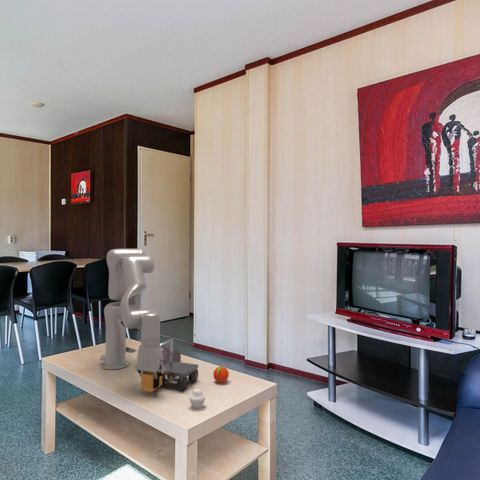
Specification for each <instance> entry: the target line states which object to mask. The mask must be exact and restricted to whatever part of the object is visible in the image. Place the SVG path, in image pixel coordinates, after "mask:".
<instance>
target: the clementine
mask: <svg viewBox="0 0 480 480" xmlns="http://www.w3.org/2000/svg"><path fill="white" fill-rule="evenodd" d="M229 375H230V372H229V370H228V369H227V367H225V366H217V367H216V368H214V370H213V379H214V380H215V381H216V382H217V383H225V382H227V380H228V378H229Z"/></svg>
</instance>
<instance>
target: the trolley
mask: <svg viewBox="0 0 480 480" xmlns="http://www.w3.org/2000/svg"><path fill="white" fill-rule="evenodd" d="M173 343H174V338H170V339H167V340H166V341H163V342H160V345H161V347H163V346H166V345H167V344H170V362H168V363H166V364H165V365H164V366H165V368H166V370H167V371H166V372H165V373H163V374H162V375H161V376H162V385H161V386H159V387H158V388H163V387H164V385H165V383H167V384H168V383H169V384H176V386H177V387H176V388H177V390H178V391H181V392H185V391H186V390H187V388H188V385H189V383H193V384H195V383H196V382H197V381H198V378H199V370H198V368H199V364H194V363H188V362H182V361H180V362H175V361H172V353H173V348H174V347H173V345H174V344H173ZM159 370H160V372H161V371H162V370H161V369H159ZM176 378H178V379H177V380H175V379H176Z"/></svg>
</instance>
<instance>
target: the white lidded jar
mask: <svg viewBox="0 0 480 480" xmlns="http://www.w3.org/2000/svg"><path fill="white" fill-rule="evenodd" d="M188 399H189V401H190V404H191V407H192V408H193V409H196V410H198V409H201V408H202V406H203V405H204V403H205V400H206V396H205V394H204V393H203V390H202V389H200V388H194V389H193V391H192V392H191V394H190V395H189V398H188Z"/></svg>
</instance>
